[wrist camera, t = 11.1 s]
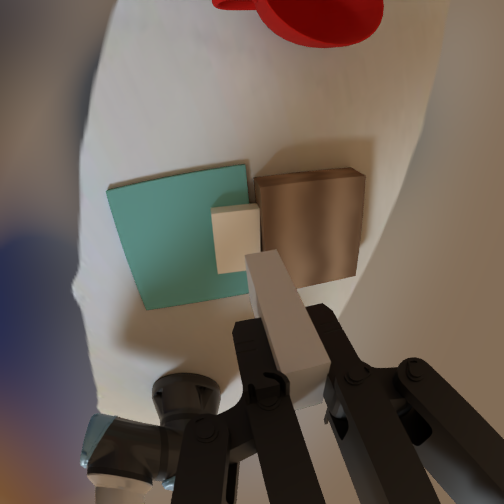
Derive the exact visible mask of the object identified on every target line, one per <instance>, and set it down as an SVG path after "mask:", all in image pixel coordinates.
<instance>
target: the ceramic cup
mask: <svg viewBox="0 0 504 504" xmlns="http://www.w3.org/2000/svg"><path fill="white" fill-rule="evenodd" d="M212 4H213V5H214V7H216V8H218V9H223V10H257V12H258V14H259V16H260V18H261V19H262V21H263V22H264V23H265V24H266V25H267V27H268V28H269V29H271V30H272V31H273V32H274V33H275V34H277V35H278V36H280V37H282V38H283V39H285V40H287V41H290V42H292V43H295V44H298V45H302V46H306V47H316V48H332V47H344V46H349V45H353V44H356V43H359V42H361V41H363V40H365V39H367V38H368V37H370V36H371V35H372V34H373V33H374V32H375V31H376V29H377V28H378V26H379V25H380V23H381V20H382V17H383V9H384V4H383V0H212Z"/></svg>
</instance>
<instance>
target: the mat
mask: <svg viewBox="0 0 504 504" xmlns="http://www.w3.org/2000/svg"><path fill="white" fill-rule="evenodd" d="M106 194H107V198H108V201H109V205H110V208H111V212H112V215H113V218H114V222H115V225H116V228H117V231H118V234H119V238H120V241H121V244H122V247H123V249H124V252H125V255H126V258H127V261H128V264H129V267H130V269H131V272H132V275H133V277H134V280H135V283H136V285H137V288H138V290H139V293H140V296H141V298H142V300H143V303H144V305H145V308H146V310H152V309H158V308H165V307H171V306H178V305H184V304H190V303H196V302H202V301H208V300H214V299H220V298H225V297H231V296H236V295H242V294H247V293H249V289H248V280H247V272H246V271H239V272H231V273H223V274H218V271H217V264H216V255H215V246H214V237H213V228H212V218H211V208H214V207H223V206H232V205H242V204H249V197H248V187H247V177H246V167H245V164H240V165H233V166H226V167H220V168H213V169H207V170H201V171H195V172H190V173H184V174H179V175H173V176H168V177H163V178H158V179H153V180H149V181H144V182H139V183H135V184H131V185H126V186H122V187H118V188H114V189H109V190H107V191H106Z"/></svg>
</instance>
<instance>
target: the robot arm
mask: <svg viewBox="0 0 504 504" xmlns="http://www.w3.org/2000/svg"><path fill="white" fill-rule="evenodd" d="M244 256H245V264H246V272H247V280H248V289H249V297H250V302H251V306H252V309H253V313H254V316H255V318H254V319H249V320H244V321H239V322H236V323H235V326H234V329H233V332H232V334H233V340H234V345H235V350H236V355H237V360H238V365H239V370H240V375H241V380H242V385H243V393H242V397H241V398H240V400H239V402H238V403H237V404H236V405H235V406H234V407H232V408H230V409H229V410H227V411H225V412H223V413H220V414H218V415H217V413H218V409H219V405H220V400H221V395H220V388H219V386H218V385H217V383H216V382H214V381H213V380H211V379H210V378H207V377H205V376H201V375H196V374H185V373H184V374H173V375H169V376H166V377H163V378H161V379H159V380H158V381H156V382H155V384H154V385H153V388H152V399H153V402H154V405H155V408H156V411H157V413H158V416H159V419H160V426H157V425H152V424H146V423H142V422H137V421H133V420H128V419H124V418H120V417H118V416H110V415H106V414H101V413H97V414H94V415H93V416H92V417H91V419H90V421H89V424H88V427H87V431H86V434H85V438H84V442H83V447H82V448H83V449H82V453H81V457H80V465H81V466H83V467H84V468H87V477H88V478H89V480H90V481H91V482H92V483H93V484H94V486H95V504H145V497H144V496H145V494H146V493H147V492H148V491H150V490H151V489H152V488H153V484H152V480H155V481H162V485H163V487H164V488H165V489H166V490H172V491H173V493H172V499H171V504H236V500H237V499H236V498H237V488H238V476H239V465H240V461H242V460H243V459H245V458H248V457H249V456H251V455H253V454H255V453H258V457H259V461H260V466H261V469H262V474H263V478H264V482H265V486H266V490H267V494H268V498H269V502H270V504H326V503H325V500H324V497H323V494H322V491H321V488H320V485H319V483H318V480H317V476H316V473H315V470H314V467H313V464H312V462H311V459H310V455H309V452H308V449H307V447H306V443H305V441H304V437H303V435H302V431H301V429H300V425H299V422H298V419H297V416H296V414H295V410H299V409H303V408H306V407H310V406H314V405H317V404H320V403H322V401H323V397H324V399H325V402H326V404H327V407H328V408H327V411H326V414H325V418H324V422H325V424H327V423H328V421H329V422H330V425H331V428H332V430H333V433H334V435H335V438H336V440H337V443H338V446H339V448H340V451H341V454H342V456H343V459H344V461H345V464H346V467H347V469H348V472H349V474H350V477H351V480H352V482H353V485H354V488H355V490H356V493H357V495H358V498H359V501H360V503H361V504H440V501H439V499H438V497H437V495H436V492H435V490H434V488H433V486H432V484H431V482H430V479H429V477H428V475H427V473H426V471H425V469H426V470H427V471H428V472H429V473H430V474H431V475H432V477H433V478H434V479H435V480H436V481H437V482H438V483H439V484H440V486H441V487H442V488H443V489H444V490H445V491H446V492H447V493H448V495H449V496H450V497H451V498H452V499H453V500H454V502H455V503H456V504H504V439H503V438H502V437H501V436H500V435H499V434H498V433H497V432H496V431H495V430H494V429H493V428H492V427H491V426H490V425H489V424H488V423H487V421H486V420H484V418H483V417H482V416H481V415H480V414H479V413H478V412H477V411H476V410H475V409H474V408H473V407H472V406H471V405H470V404H469V403H468V402H467V401H466V400H465V399H464V398H463V397H462V396H461V395H460V394H459V393H458V392H457V391H456V390H455V389H454V388H453V387H452V386H451V385H450V384H449V383H448V382H447V381H446V380H445V379H443V378H442V377H441V376H440V375H439V374H438V373H437V372H436V371H435V370H434V369H433V368H432V367H431V366H430V365H429V364H428V363H427V362H425V361H424V360H422V359H419V358H407V359H405V360H403V361H402V362H401V363H400V365H399V366H398V367H395V368H374V367H371V366H370V365H368V364H366V363H365V362H362V361H361V360H360V358H359V357H358V355H357V354H356V352H355V350H354V348H353V346H352V345H351V343H350V341H349V339H348V338H347V336H346V334H345V332H344V330H342V327H341V325H340V323H339V322H338V320H337V318H336V316H335V314H334V313H333V311H332V310H331V309H330V308H328V307H327V306H326V305H324V304H323V303H321V304H317V305H312V306H308V307H305V306H304V304H303V302H302V300H301V298H300V296H299V294H298V292H297V290H296V288H295V286H294V284H293V282H292V280H291V278H290V276H289V274H288V272H287V270H286V268H285V266H284V264H283V262H282V259H281V257H280V255H279V253H278V251H277V249H275V250H270V251H264V252H258V253H252V254H247V255H244ZM423 466H424V467H425V469H424V467H423Z"/></svg>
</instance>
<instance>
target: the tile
mask: <svg viewBox="0 0 504 504" xmlns="http://www.w3.org/2000/svg"><path fill="white" fill-rule="evenodd" d="M211 218H212V228H213V237H214V246H215V255H216V264H217V271H218V274H223V273H231V272H239V271H246V264H245V256H244V255H247V254H252V253H258V252H261V251H260V209H259V207H258V205H257V203H252V204H242V205H232V206H223V207H214V208H211Z"/></svg>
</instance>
